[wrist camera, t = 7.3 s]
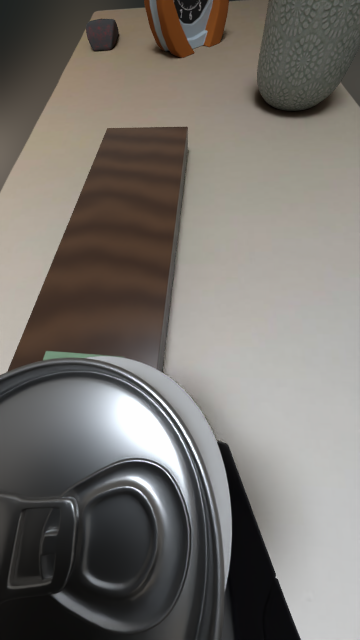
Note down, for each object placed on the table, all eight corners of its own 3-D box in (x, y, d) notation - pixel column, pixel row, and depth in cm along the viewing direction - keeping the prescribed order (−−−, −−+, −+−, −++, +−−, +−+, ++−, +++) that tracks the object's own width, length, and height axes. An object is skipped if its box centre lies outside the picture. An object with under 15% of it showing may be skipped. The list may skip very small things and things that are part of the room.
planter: (284, 74, 46) (325, -69, 32) (350, 98, 41) (435, -63, 27) (232, 100, 43) (253, -48, 29) (297, 130, 37) (362, -36, 23)
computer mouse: (88, 51, 58) (82, 28, 55) (96, 35, 64) (90, 12, 60) (115, 49, 58) (110, 25, 54) (121, 33, 63) (117, 10, 60)
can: (209, 490, 12) (354, 1130, 1) (107, 499, 12) (-491, 1171, 2) (197, 383, 15) (217, 322, 4) (113, 391, 15) (-92, 350, 4)
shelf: (152, 457, 18) (144, 469, 15) (11, 441, 19) (-28, 449, 16) (187, 151, 36) (187, 124, 33) (114, 151, 38) (106, 126, 34)
